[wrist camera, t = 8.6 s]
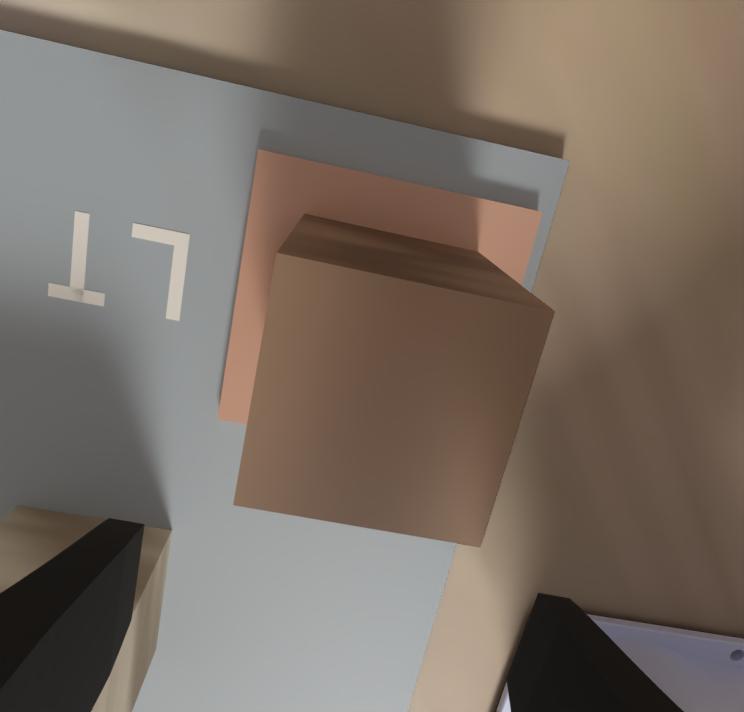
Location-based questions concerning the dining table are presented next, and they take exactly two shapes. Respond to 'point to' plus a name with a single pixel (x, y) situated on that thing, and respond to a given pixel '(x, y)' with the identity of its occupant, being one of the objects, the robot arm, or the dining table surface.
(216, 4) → the dining table surface
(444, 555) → the board
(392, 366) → the walnut block
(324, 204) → the terracotta pad
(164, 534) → the birch block
